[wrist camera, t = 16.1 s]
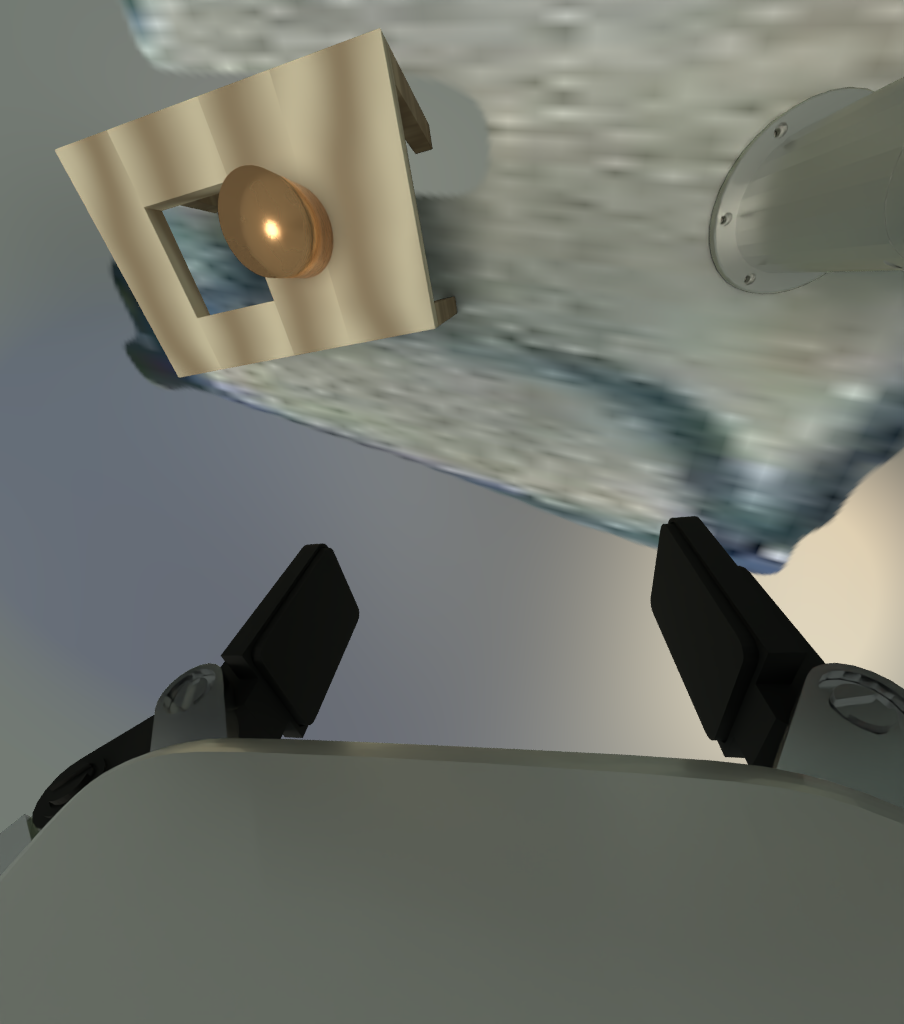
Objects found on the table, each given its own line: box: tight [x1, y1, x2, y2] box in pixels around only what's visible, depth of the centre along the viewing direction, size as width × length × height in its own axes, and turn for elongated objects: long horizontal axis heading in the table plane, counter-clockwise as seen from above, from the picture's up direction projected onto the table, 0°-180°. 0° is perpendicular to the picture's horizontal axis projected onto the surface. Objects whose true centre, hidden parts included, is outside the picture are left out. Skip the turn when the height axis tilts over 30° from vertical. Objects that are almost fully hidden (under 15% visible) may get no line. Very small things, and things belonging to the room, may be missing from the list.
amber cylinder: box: [218, 165, 333, 278], centre depth 26 cm, size 5×5×14 cm
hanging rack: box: [55, 28, 457, 377], centre depth 30 cm, size 22×14×14 cm, turn 101°
